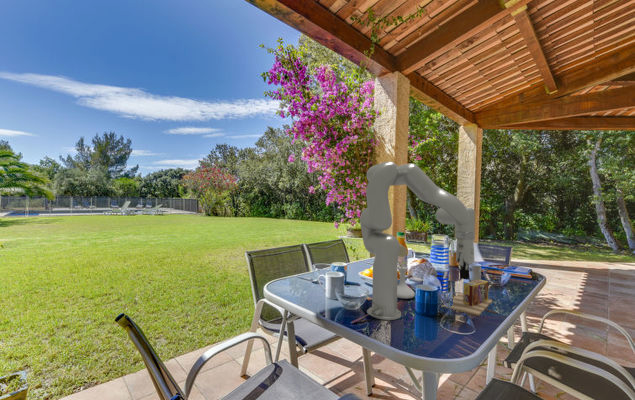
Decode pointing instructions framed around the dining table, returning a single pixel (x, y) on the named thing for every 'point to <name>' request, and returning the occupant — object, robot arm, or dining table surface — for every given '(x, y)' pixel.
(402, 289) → the flower in vase
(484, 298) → the candy box
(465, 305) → the striped wooden board
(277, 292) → the dining table surface
